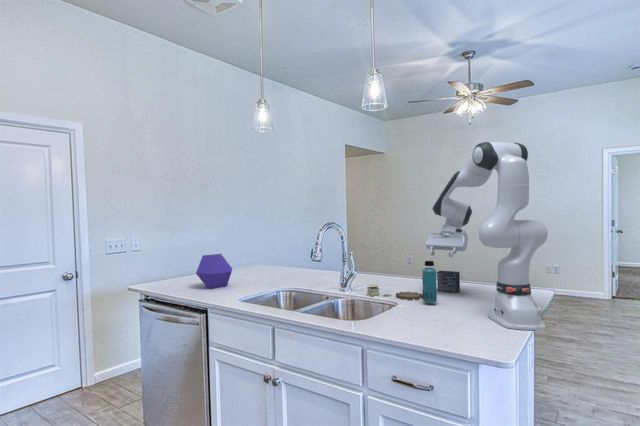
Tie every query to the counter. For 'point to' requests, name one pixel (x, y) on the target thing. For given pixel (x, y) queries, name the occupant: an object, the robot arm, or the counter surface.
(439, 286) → the small box
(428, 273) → the beverage bottle
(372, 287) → the stacked layers on plate
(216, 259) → the purple faceted block
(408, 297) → the gear plate
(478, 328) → the counter surface
